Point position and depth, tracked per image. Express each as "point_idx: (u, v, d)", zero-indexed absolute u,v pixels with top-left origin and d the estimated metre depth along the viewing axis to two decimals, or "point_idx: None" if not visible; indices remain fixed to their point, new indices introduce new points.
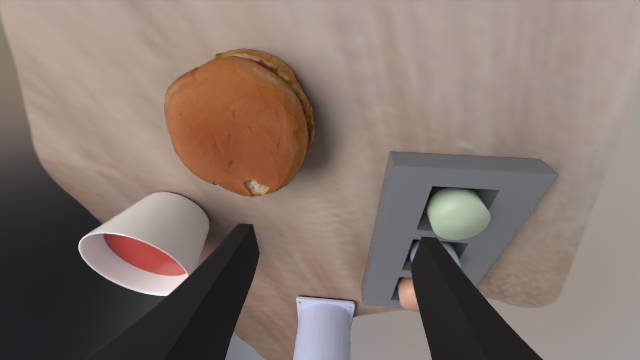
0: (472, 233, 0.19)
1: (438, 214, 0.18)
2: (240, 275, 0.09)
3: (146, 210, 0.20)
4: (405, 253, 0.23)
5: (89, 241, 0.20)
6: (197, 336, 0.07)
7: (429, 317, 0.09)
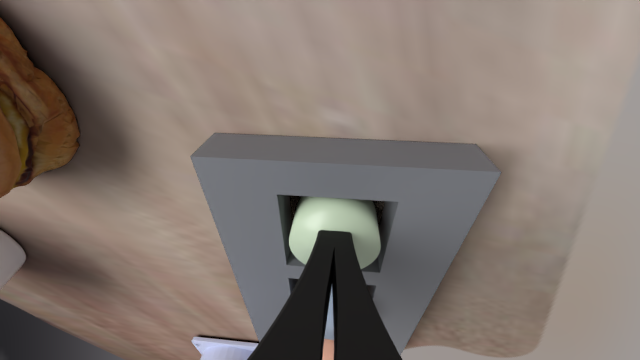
0: (360, 263, 0.11)
1: (292, 233, 0.10)
2: (330, 283, 0.09)
3: None
4: (287, 297, 0.14)
5: None
6: (321, 349, 0.06)
7: (333, 308, 0.09)
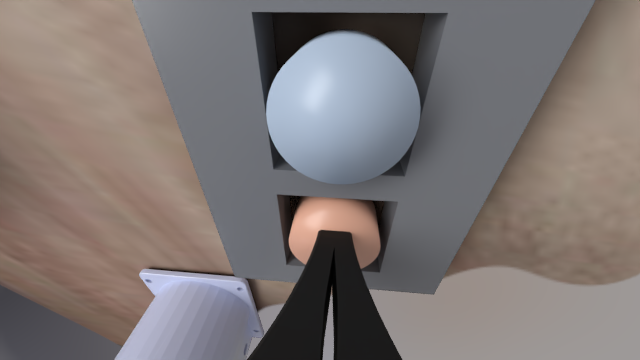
0: None
1: None
2: (330, 283, 0.09)
3: None
4: (257, 96, 0.07)
5: None
6: (321, 349, 0.06)
7: (334, 308, 0.09)
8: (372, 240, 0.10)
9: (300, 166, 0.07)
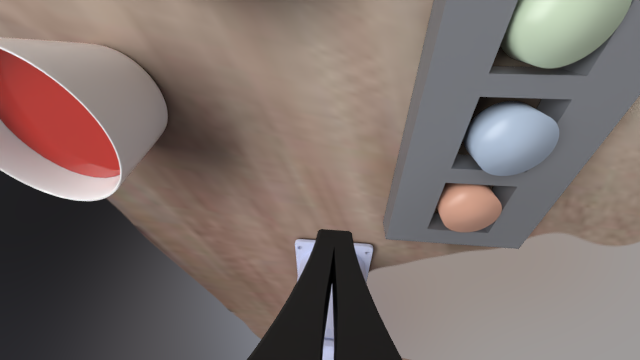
0: (588, 47, 0.11)
1: None
2: (330, 283, 0.09)
3: (46, 40, 0.12)
4: (462, 131, 0.15)
5: None
6: (321, 349, 0.06)
7: (334, 308, 0.09)
8: (497, 209, 0.17)
9: (485, 166, 0.14)
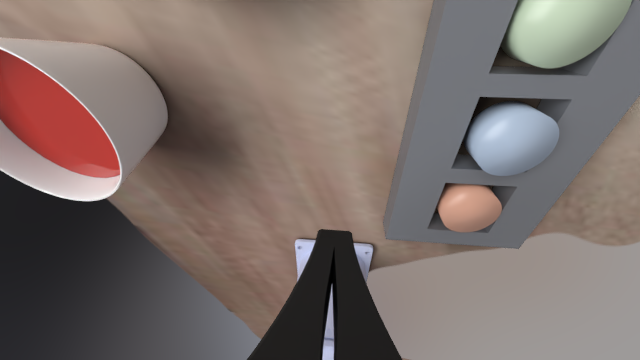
0: (588, 47, 0.11)
1: None
2: (330, 283, 0.09)
3: (46, 40, 0.12)
4: (462, 131, 0.15)
5: None
6: (321, 349, 0.06)
7: (334, 308, 0.09)
8: (497, 209, 0.17)
9: (485, 166, 0.14)
